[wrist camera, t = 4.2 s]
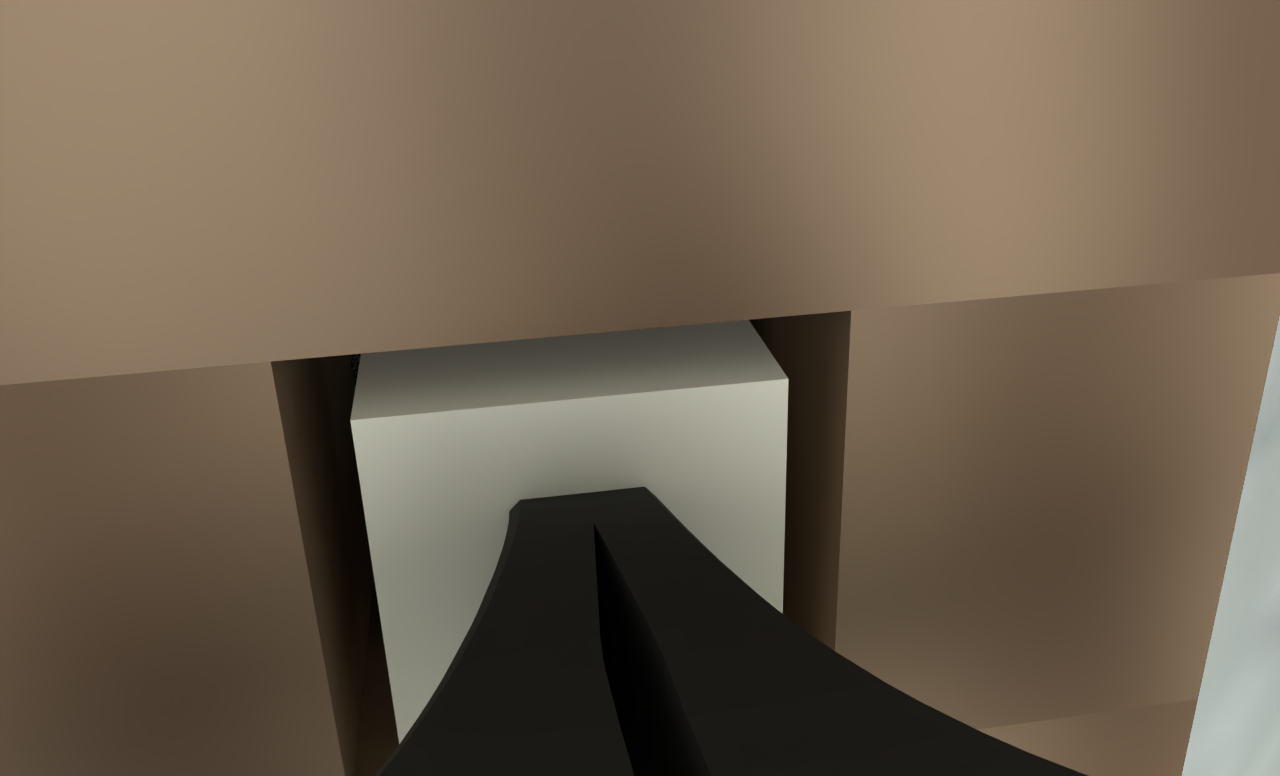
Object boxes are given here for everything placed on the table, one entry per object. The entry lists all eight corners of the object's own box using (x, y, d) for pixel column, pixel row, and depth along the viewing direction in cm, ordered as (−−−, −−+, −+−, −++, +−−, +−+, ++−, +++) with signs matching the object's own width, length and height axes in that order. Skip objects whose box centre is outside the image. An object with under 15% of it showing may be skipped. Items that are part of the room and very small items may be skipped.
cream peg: (413, 509, 17) (403, 768, 12) (378, 243, 15) (350, 420, 10) (685, 480, 17) (780, 718, 12) (681, 220, 16) (788, 378, 11)
